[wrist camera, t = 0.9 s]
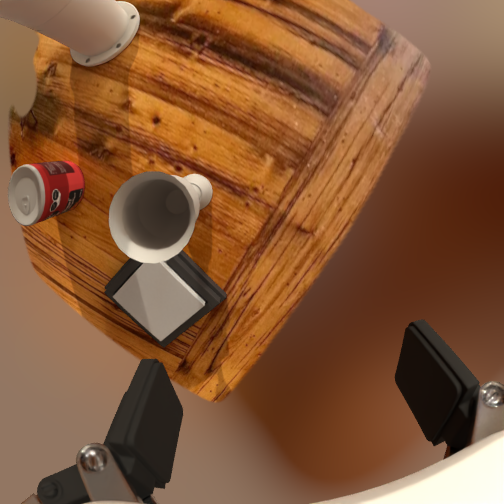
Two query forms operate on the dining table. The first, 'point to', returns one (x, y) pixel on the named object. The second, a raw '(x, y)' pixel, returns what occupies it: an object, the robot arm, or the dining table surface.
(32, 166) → the canned food
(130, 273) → the scale
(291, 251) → the dining table surface
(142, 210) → the chalice
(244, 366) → the dining table surface
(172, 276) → the pan
